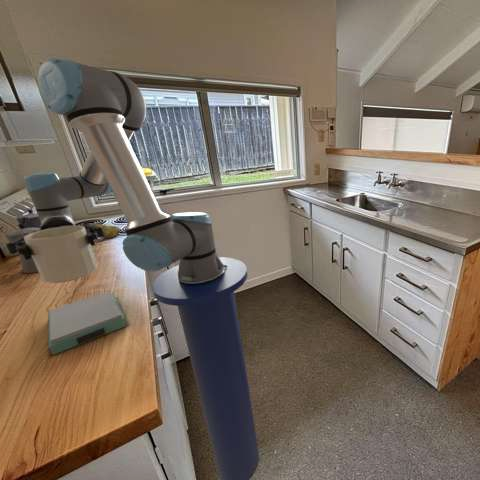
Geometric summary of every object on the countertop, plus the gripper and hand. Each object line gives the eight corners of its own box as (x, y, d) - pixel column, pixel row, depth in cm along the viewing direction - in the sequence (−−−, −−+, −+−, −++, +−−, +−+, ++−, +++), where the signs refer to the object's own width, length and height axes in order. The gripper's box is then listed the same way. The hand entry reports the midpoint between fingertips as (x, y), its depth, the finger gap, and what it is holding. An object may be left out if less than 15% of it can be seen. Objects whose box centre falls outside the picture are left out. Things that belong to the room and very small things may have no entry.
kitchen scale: (115, 298, 79) (112, 289, 78) (127, 326, 66) (124, 316, 65) (51, 319, 70) (47, 309, 68) (52, 356, 57) (46, 345, 56)
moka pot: (65, 246, 121) (49, 205, 114) (57, 257, 109) (38, 212, 102) (37, 251, 116) (18, 208, 109) (25, 263, 104) (3, 215, 97)
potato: (123, 236, 134) (118, 222, 131) (91, 243, 126) (85, 227, 123) (120, 233, 140) (116, 218, 137) (90, 238, 131) (84, 224, 129)
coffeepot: (9, 274, 95) (-14, 228, 89) (34, 263, 104) (15, 220, 98) (53, 272, 96) (33, 226, 90) (73, 261, 105) (57, 219, 99)
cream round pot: (96, 261, 76) (82, 223, 72) (101, 273, 69) (86, 231, 65) (43, 274, 69) (25, 232, 65) (43, 289, 61) (22, 242, 57)
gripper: (110, 231, 87) (122, 247, 72) (5, 250, 71) (-6, 277, 57) (103, 209, 84) (115, 222, 69) (-7, 225, 69) (-23, 245, 54)
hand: (60, 246), depth 63 cm, fingers closed on cream round pot, 11 cm apart
